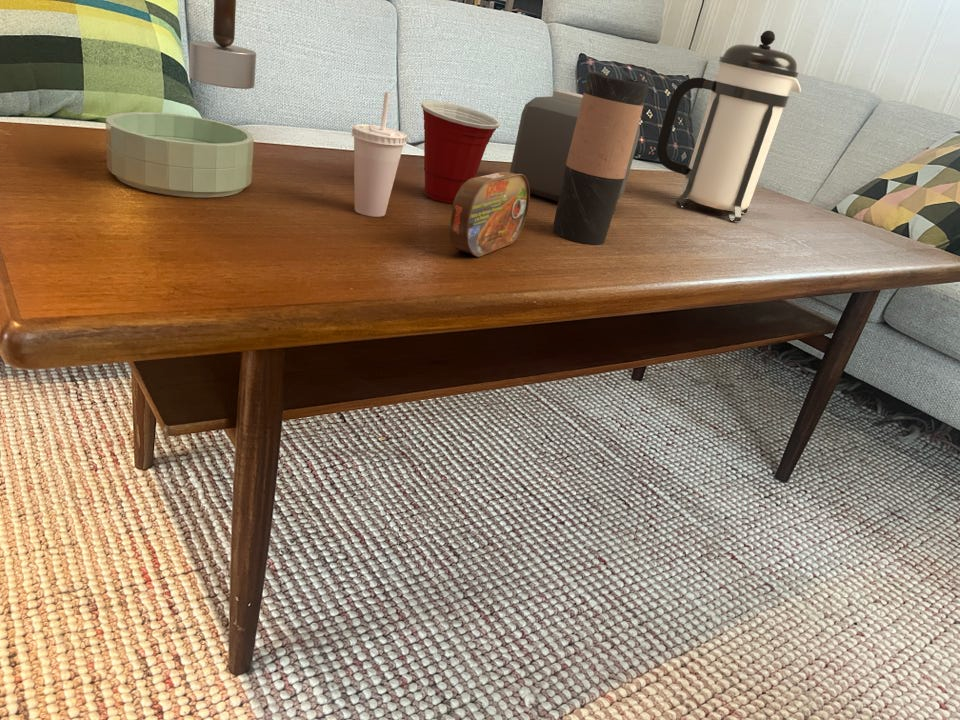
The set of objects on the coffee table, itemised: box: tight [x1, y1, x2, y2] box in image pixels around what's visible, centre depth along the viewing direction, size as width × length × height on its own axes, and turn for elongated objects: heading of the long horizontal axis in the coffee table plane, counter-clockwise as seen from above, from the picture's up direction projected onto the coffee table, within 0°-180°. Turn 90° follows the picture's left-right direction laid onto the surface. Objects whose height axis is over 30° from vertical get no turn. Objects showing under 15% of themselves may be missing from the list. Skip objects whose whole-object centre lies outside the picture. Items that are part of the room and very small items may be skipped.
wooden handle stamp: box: [188, 0, 257, 90], centre depth 64 cm, size 6×6×12 cm
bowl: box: [105, 111, 255, 199], centre depth 84 cm, size 15×15×6 cm
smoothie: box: [350, 91, 408, 218], centre depth 85 cm, size 6×6×14 cm
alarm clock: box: [509, 89, 641, 203], centre depth 112 cm, size 16×11×16 cm
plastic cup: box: [420, 100, 501, 205], centre depth 99 cm, size 11×11×12 cm
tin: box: [449, 171, 531, 258], centre depth 82 cm, size 15×3×8 cm, turn 151°
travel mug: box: [552, 70, 649, 245], centre depth 93 cm, size 8×8×20 cm
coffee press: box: [656, 30, 802, 222], centre depth 125 cm, size 17×16×30 cm
